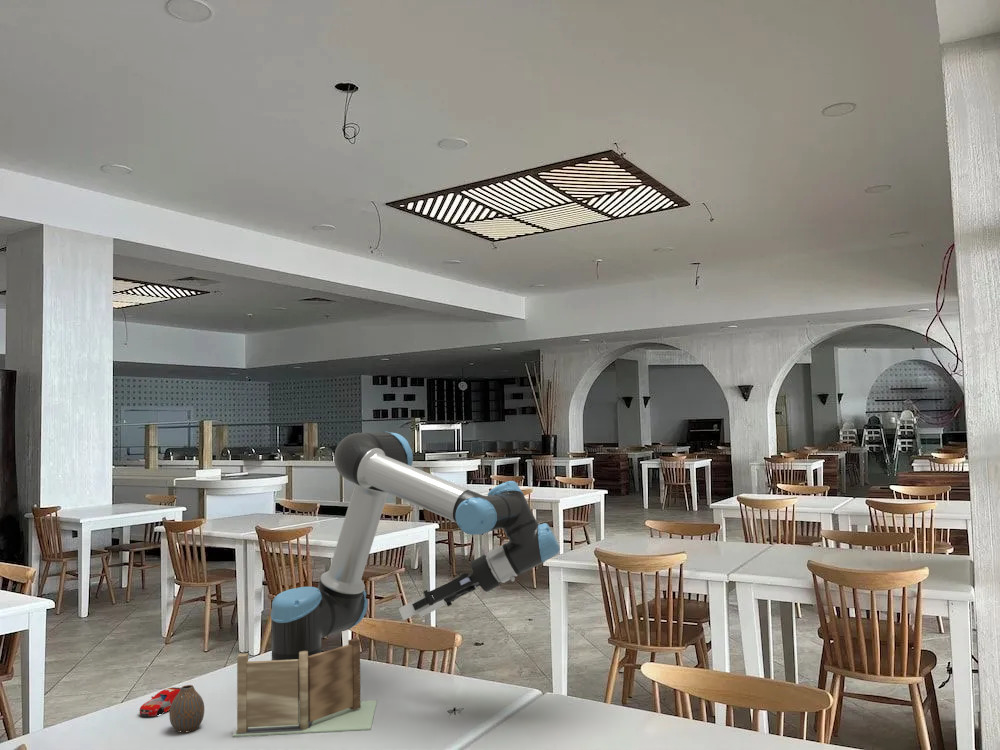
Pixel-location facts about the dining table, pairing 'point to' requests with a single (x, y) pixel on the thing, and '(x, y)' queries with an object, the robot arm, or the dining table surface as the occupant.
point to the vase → (186, 709)
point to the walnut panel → (334, 680)
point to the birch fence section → (272, 692)
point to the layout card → (324, 723)
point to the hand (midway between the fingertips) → (410, 613)
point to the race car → (159, 702)
